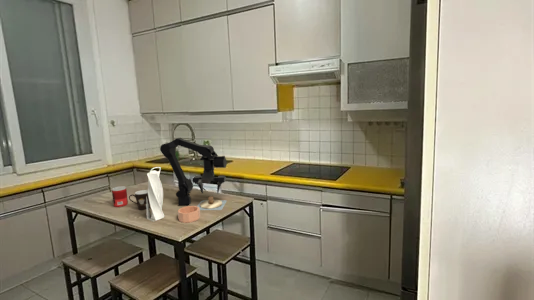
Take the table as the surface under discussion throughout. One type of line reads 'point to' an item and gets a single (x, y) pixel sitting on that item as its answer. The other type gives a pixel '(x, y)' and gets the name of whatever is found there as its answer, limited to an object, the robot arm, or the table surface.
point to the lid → (211, 203)
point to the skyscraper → (154, 196)
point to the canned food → (119, 196)
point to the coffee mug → (141, 199)
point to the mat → (213, 208)
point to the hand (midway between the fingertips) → (210, 193)
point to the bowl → (188, 214)
